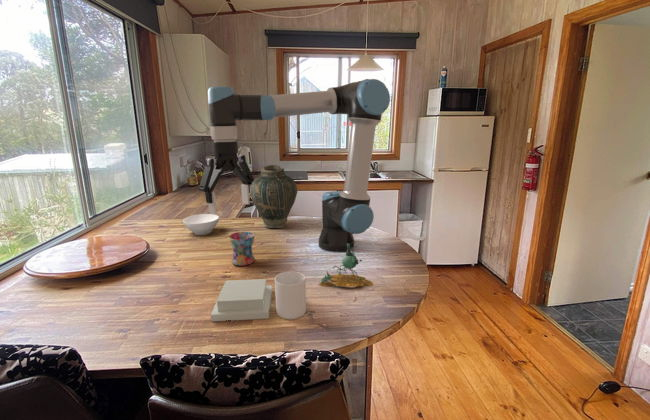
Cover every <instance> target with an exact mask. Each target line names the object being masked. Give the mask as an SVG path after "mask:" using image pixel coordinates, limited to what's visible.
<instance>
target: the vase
mask: <svg viewBox="0 0 650 420" xmlns="http://www.w3.org/2000/svg"><path fill="white" fill-rule="evenodd" d="M297 195H298V186H297V184H296V181H295V180H294V179H293V178H292V177H291V176H288V175H286V173H285V169H284V168H282V167H281V166H280V165H277V164H269V165H266V166H262V167H261V172H260V175H259V177H257V178H256V179H255V178H254V181H253V182H252V184H251V185H250V197H251V200H252V203H253V205H254V207H255V209H256V210H257V212H258V213H259V216H260V217H261V219H262V221H263V222H262V223H263V225H264V227H265V228H267V229H269V228H270V229H284V228H286V227H287V224H286V223H287V221H288V217H289V214H290V213H291V209H292V208H293V207H294V204H295V202H296V198H297Z"/></svg>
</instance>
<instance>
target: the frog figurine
mask: <svg viewBox="0 0 650 420" xmlns="http://www.w3.org/2000/svg"><path fill="white" fill-rule="evenodd" d="M347 249H348V250H347V251H346V253H345V254H344V256H342V260H341V263H342V265H340V266H336V265H334V266H333V267H332V269H334V268H337V271H336V273H337V274H330V273H329V271H326V273H327V274H326V275H325V274H324V276H323V278H322V279H321V281H319V283H318V286H320V287H330V286H336V287H341V288H342V287H343V288H350V289H353V288H359V287H363V288H364V287H365V286H374V282H372V281H371V280H368V279H366V278H365V276H360V275H358V273H357V272H356V271H355V270H353V269H354V268H356V266H357V265H359V262H363V260H362V259H358V258H357V257H356V255H355V251H354V249H350V244H349V243H347ZM341 267H343V268H341ZM347 269H348V270H350V271H351V274H348V273H347ZM339 271H343V272H345V273H342V272H339ZM354 273H355V274H354Z"/></svg>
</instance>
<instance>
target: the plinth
mask: <svg viewBox="0 0 650 420" xmlns="http://www.w3.org/2000/svg"><path fill="white" fill-rule="evenodd" d="M272 297H273V285H267V278H260V279H259V278H258V279H257V278H256V279H255V278H254V279H239V280H238V279H236V280H234V279H233V280H225V281H224V284H223V286H222V287H221V291H220V293H219V295H218V297H217V300H216V302H215V304H214V307H213V309H212V310H211V313H210V319H211V320H210V321H212V322H224V321H225V322H228V320H231V321H246V320H249V321H250V320H263V319H270V310H271V303H272ZM226 320H227V321H226Z"/></svg>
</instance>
